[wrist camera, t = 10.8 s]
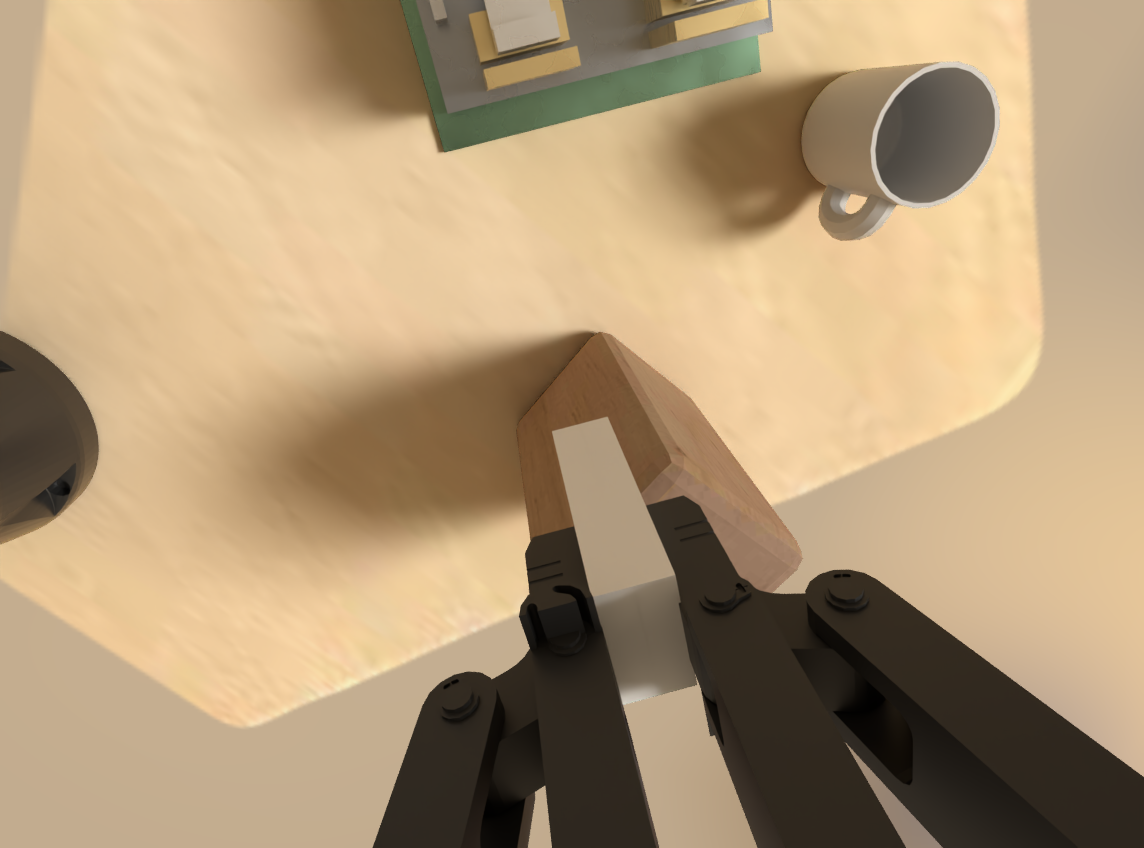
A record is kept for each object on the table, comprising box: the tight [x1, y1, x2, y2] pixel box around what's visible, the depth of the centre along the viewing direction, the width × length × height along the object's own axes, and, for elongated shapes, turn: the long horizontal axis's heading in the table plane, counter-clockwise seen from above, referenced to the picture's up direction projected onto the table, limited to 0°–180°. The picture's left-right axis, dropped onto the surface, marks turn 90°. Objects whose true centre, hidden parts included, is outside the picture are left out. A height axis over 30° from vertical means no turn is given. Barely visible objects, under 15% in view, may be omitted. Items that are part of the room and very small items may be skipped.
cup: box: [801, 62, 1000, 241], centre depth 40 cm, size 7×10×9 cm
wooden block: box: [517, 332, 803, 593], centre depth 41 cm, size 10×10×20 cm
